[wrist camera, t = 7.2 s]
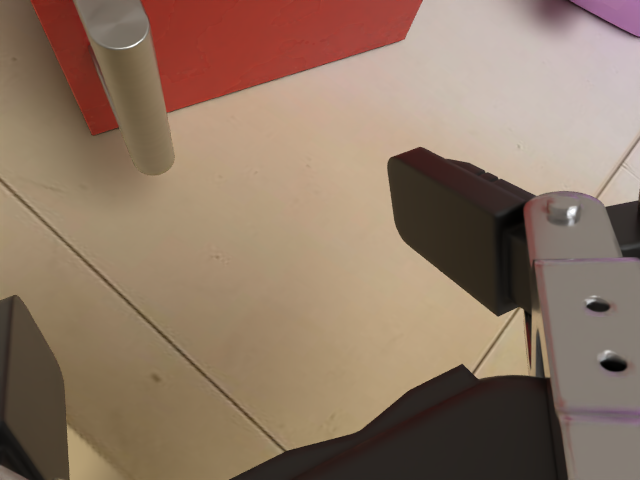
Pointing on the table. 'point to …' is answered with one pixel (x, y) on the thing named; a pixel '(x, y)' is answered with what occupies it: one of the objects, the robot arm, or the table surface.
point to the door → (198, 54)
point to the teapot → (616, 12)
